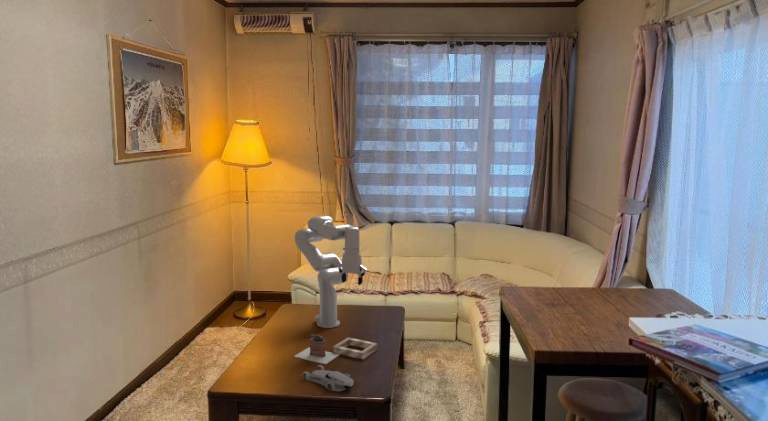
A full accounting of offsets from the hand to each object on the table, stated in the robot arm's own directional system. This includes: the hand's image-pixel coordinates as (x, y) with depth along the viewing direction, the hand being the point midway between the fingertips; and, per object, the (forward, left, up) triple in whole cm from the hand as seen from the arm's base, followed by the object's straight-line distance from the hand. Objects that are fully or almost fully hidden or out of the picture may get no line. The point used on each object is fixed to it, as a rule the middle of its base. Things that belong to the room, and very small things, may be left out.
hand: (352, 283), depth 277 cm
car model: (+19, -51, -29) cm, 61 cm away
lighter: (-1, -31, -28) cm, 42 cm away
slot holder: (+12, -17, -28) cm, 35 cm away
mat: (-1, -31, -28) cm, 42 cm away
